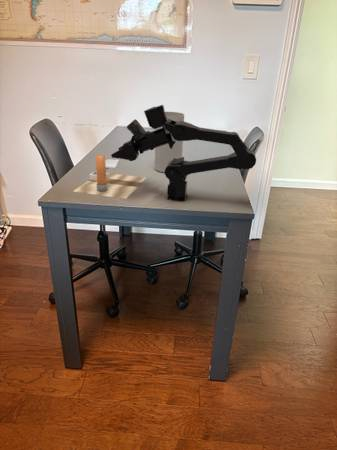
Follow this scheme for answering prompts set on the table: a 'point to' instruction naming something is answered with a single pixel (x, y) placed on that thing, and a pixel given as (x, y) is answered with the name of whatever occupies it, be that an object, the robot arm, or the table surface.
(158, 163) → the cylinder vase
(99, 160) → the awl
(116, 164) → the hard drive
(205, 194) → the table surface
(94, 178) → the block
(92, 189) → the subfloor board
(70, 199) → the table surface
